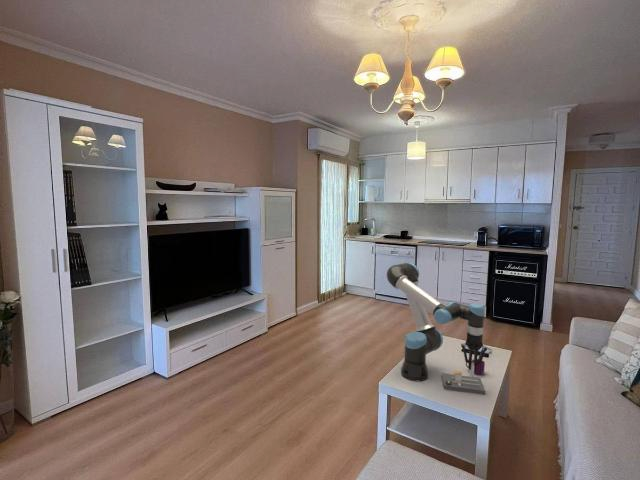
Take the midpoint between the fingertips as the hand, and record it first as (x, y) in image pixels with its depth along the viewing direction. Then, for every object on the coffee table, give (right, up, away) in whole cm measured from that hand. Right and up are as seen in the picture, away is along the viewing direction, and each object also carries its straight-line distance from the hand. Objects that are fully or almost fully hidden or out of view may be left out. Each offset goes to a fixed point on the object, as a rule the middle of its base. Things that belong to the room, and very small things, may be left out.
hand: (471, 375), depth 187 cm
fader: (-7, -3, +2) cm, 8 cm away
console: (-4, -6, +2) cm, 7 cm away
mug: (+9, -4, +16) cm, 19 cm away
